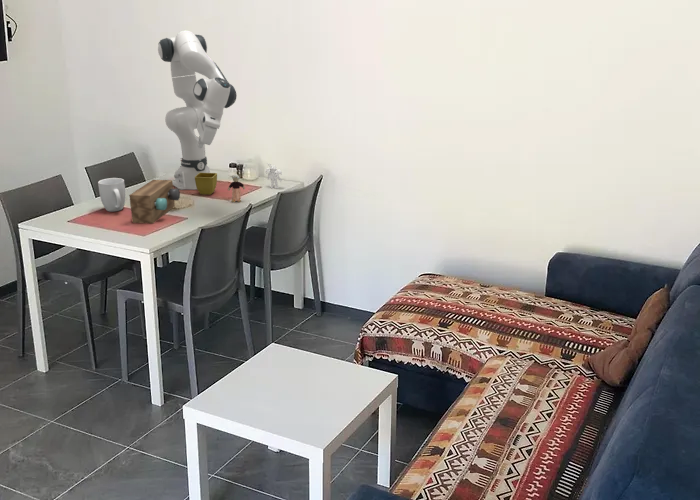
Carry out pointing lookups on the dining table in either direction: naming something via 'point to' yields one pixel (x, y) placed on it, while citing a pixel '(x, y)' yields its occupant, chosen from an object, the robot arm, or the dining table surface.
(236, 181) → the grandmother figurine
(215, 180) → the flower pot
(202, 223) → the dining table surface
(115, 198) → the mug
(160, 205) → the knob teal
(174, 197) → the knob black
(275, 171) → the flower shoulder figurine
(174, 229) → the dining table surface
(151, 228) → the dining table surface
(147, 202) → the walnut mount
